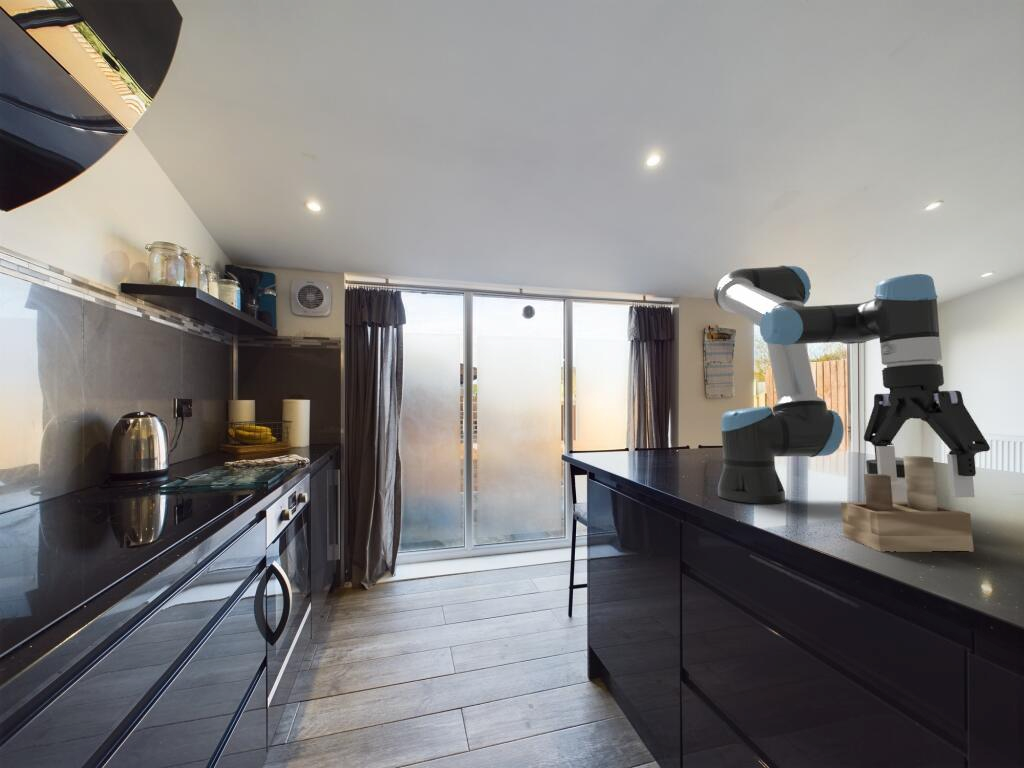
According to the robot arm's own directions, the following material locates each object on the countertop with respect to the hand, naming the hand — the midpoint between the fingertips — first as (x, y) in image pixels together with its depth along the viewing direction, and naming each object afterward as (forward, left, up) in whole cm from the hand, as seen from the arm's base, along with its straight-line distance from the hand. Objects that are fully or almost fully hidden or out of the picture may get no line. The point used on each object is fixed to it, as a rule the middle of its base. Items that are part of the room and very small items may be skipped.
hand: (921, 488), depth 69 cm
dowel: (0, 0, -7) cm, 7 cm away
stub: (0, -7, -7) cm, 10 cm away
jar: (-13, +6, -9) cm, 17 cm away
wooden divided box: (0, -4, -9) cm, 10 cm away
